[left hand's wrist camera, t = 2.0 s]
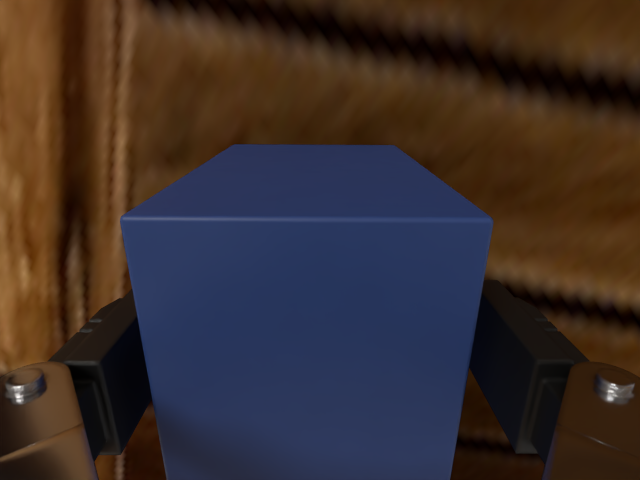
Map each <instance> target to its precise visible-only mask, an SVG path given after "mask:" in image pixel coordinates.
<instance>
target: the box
mask: <svg viewBox="0 0 640 480" xmlns="http://www.w3.org/2000/svg"><path fill="white" fill-rule="evenodd" d="M120 224H121V229H122V235H123V240H124V246H125V251H126V257H127V262H128V268H129V273H130V279H131V284H132V290H133V295H134V301H135V306H136V312H137V317H138V323H139V328H140V334H141V339H142V345H143V350H144V356H145V361H146V367H147V372H148V378H149V383H150V389H151V394H152V400H153V405H154V411H155V416H156V422H157V427H158V433H159V438H160V444H161V449H162V455H163V460H164V466H165V471H166V477H167V480H450V477H451V471H452V465H453V459H454V453H455V447H456V441H457V435H458V429H459V423H460V417H461V411H462V405H463V400H464V394H465V388H466V382H467V376H468V370H469V364H470V358H471V352H472V346H473V340H474V334H475V328H476V323H477V317H478V311H479V305H480V299H481V293H482V287H483V281H484V275H485V269H486V263H487V257H488V251H489V246H490V240H491V234H492V228H493V219H492V218H491V217H490V216H489V215H487V214H486V213H485V212H483V211H482V210H481V209H479V208H478V207H476V206H475V205H474V204H472V203H471V202H470V201H468V200H467V199H466V198H464V197H463V196H462V195H460V194H459V193H458V192H456V191H455V190H454V189H452V188H451V187H450V186H448V185H447V184H446V183H444V182H443V181H442V180H440V179H439V178H438V177H436V176H435V175H434V174H432V173H431V172H430V171H428V170H427V169H425V168H424V167H423V166H421V165H420V164H419V163H417V162H416V161H415V160H413V159H412V158H411V157H409V156H408V155H407V154H405V153H404V152H403V151H401V150H400V149H399V148H397V147H396V146H394V145H250V144H234V145H232V146H231V147H229V148H228V149H226V150H224V151H223V152H221V153H220V154H218V155H217V156H215V157H213V158H212V159H210V160H209V161H207V162H206V163H204V164H203V165H201V166H199V167H198V168H196V169H195V170H193V171H192V172H190V173H188V174H187V175H185V176H184V177H182V178H181V179H179V180H177V181H176V182H174V183H173V184H171V185H170V186H168V187H166V188H165V189H163V190H162V191H160V192H159V193H157V194H155V195H154V196H152V197H151V198H149V199H148V200H146V201H144V202H143V203H141V204H140V205H138V206H137V207H135V208H134V209H132V210H130V211H129V212H127V213H126V214H124V215H123V216H121V219H120Z"/></svg>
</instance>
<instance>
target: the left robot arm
mask: <svg viewBox="0 0 640 480" xmlns="http://www.w3.org/2000/svg"><path fill="white" fill-rule="evenodd" d="M469 368H470V370H471V371H472V373H473V375H474V377H475V379H476V381H477V382H478V384H479V386H480V388H481V390H482V392H483V394H484V395H485V397H486V399H487V401H488V403H489V405H490V406H491V408H492V410H493V412H494V414H495V416H496V417H497V419H498V421H499V423H500V425H501V427H502V428H503V430H504V432H505V434H506V436H507V438H508V439H509V441H510V443H511V445H512V447H513V449H514V450H515V452H516V453H538V454H539V456H540V457H541V459H542V461H543V462H544V464H545V467H544V471H543V474H542V478H541V480H640V377H638V376H636V375H634V374H633V373H631V372H629V371H626V370H624V369H622V368H619V367H616V366H613V365H609V364H605V363H600V362H590V361H589V360H588V359H587V358H586V357H585V356H584V355H583V354H582V353H581V352H580V351H579V350H578V349H577V348H576V347H575V346H574V345H573V344H572V343H571V342H570V341H569V340H568V339H567V338H566V337H565V336H564V335H563V334H562V333H561V332H558V331H557V328H556V327H555V326H554V325H553V324H552V323H551V322H548V319H547V318H546V317H545V316H544V315H543V314H542V313H541V312H540V311H539V310H538V309H537V308H536V307H534V306H532V305H530V304H529V303H527V302H525V301H523V300H521V299H520V298H514V297H513V296H512V295H511V294H510V293H509V291H508V290H507V289H506V288H505V287H504V286H503V285H502V284H501V283H500V282H499V281H498V280H484V281H483V287H482V293H481V299H480V305H479V311H478V317H477V323H476V328H475V334H474V340H473V346H472V352H471V358H470V364H469ZM151 399H152V394H151V389H150V383H149V378H148V372H147V367H146V361H145V356H144V350H143V345H142V339H141V334H140V328H139V323H138V317H137V312H136V306H135V301H134V295H133V290H132V289H131V290H130V292H129V293H128V294H127V295H126V296H125V297H124V298H119V299H117V300H116V301H114V302H112V303H110V304H108V305H107V306H105V307H103V308H101V309H100V310H99V311H98V312H97V313H96V314H95V315H94V316H93V317H92V318H91V319H90V322H87V323H86V324H85V325H84V326H83V327H82V328H81V329H80V332H77V333H76V334H75V335H74V336H73V337H72V338H71V339H70V340H69V341H68V342H67V343H66V344H65V345H64V346H63V347H62V348H61V349H60V350H59V351H58V352H57V353H56V354H55V355H54V356H53V357H51V358H50V359H49V360H48V361H47V362H40V363H35V364H31V365H27V366H24V367H21V368H18V369H16V370H14V371H11V372H9V373H7V374H6V375H4V376H2V377H0V480H99V478H98V474H97V471H96V467H95V463H94V461H95V460H96V458H97V456H98V455H121V453H122V452H123V450H124V448H125V446H126V444H127V442H128V441H129V439H130V437H131V435H132V433H133V432H134V430H135V428H136V426H137V424H138V423H139V421H140V419H141V417H142V415H143V413H144V412H145V410H146V408H147V406H148V404H149V403H150V401H151Z"/></svg>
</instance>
